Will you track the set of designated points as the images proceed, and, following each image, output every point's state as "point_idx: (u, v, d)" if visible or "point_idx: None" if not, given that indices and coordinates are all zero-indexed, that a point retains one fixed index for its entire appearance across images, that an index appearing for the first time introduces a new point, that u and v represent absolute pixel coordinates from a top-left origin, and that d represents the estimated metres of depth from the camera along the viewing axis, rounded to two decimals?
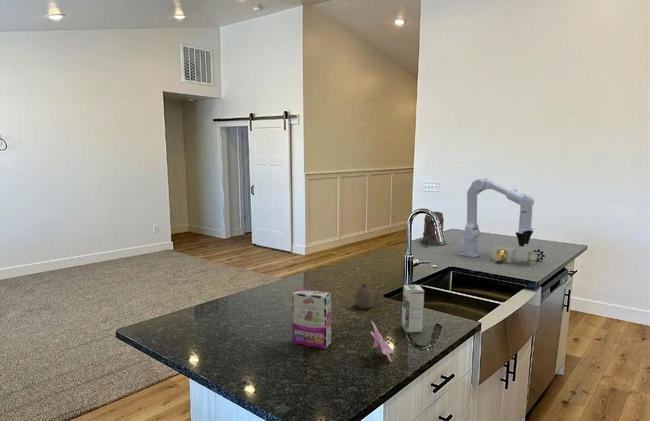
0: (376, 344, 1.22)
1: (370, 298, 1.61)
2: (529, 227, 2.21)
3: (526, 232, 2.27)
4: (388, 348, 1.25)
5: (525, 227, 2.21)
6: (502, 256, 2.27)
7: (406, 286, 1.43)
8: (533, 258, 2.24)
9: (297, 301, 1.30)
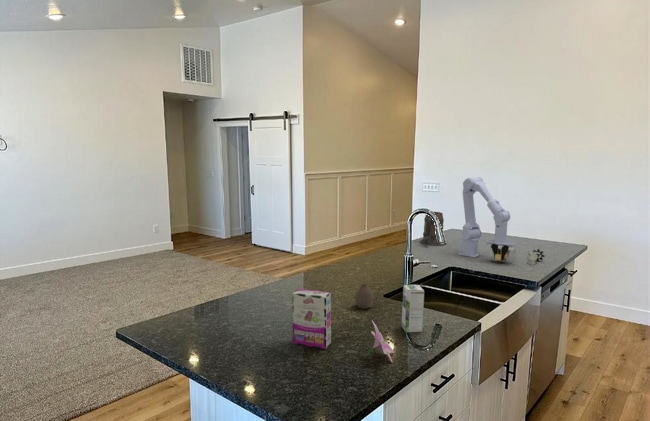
0: (377, 344, 1.22)
1: (370, 298, 1.61)
2: (496, 241, 2.25)
3: None
4: (389, 348, 1.26)
5: (494, 240, 2.27)
6: None
7: (406, 286, 1.43)
8: (533, 258, 2.24)
9: (297, 301, 1.30)
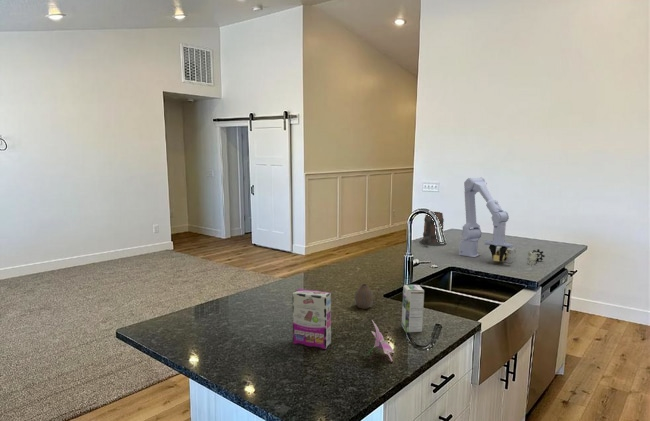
0: (377, 344, 1.22)
1: (370, 298, 1.61)
2: (494, 241, 2.23)
3: None
4: (389, 348, 1.26)
5: (492, 241, 2.25)
6: None
7: (406, 286, 1.43)
8: (533, 258, 2.24)
9: (297, 301, 1.30)
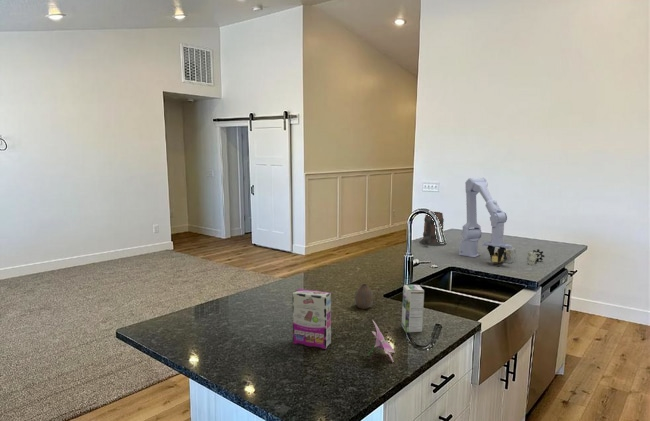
0: (378, 344, 1.22)
1: (370, 298, 1.61)
2: (492, 242, 2.21)
3: None
4: (390, 347, 1.26)
5: (491, 241, 2.23)
6: None
7: (406, 286, 1.43)
8: (532, 258, 2.23)
9: (297, 301, 1.30)
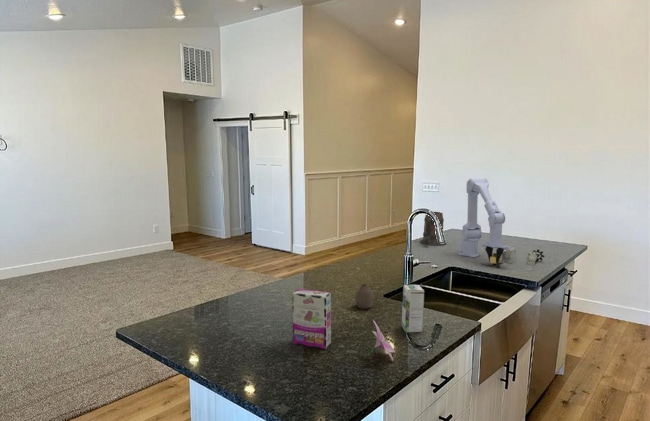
0: (378, 343, 1.22)
1: (370, 298, 1.61)
2: (491, 243, 2.19)
3: None
4: (390, 347, 1.26)
5: (489, 242, 2.21)
6: None
7: (406, 286, 1.43)
8: (532, 258, 2.23)
9: (297, 301, 1.30)
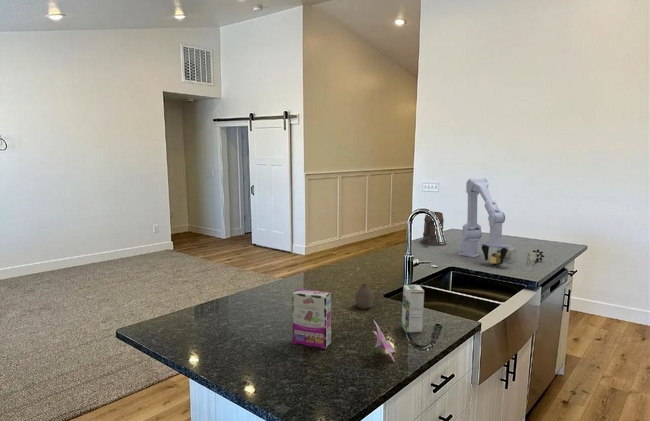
0: (379, 343, 1.22)
1: (370, 298, 1.61)
2: (491, 243, 2.19)
3: None
4: (390, 347, 1.26)
5: (489, 242, 2.21)
6: (497, 259, 2.21)
7: (406, 286, 1.43)
8: (532, 258, 2.23)
9: (297, 301, 1.30)
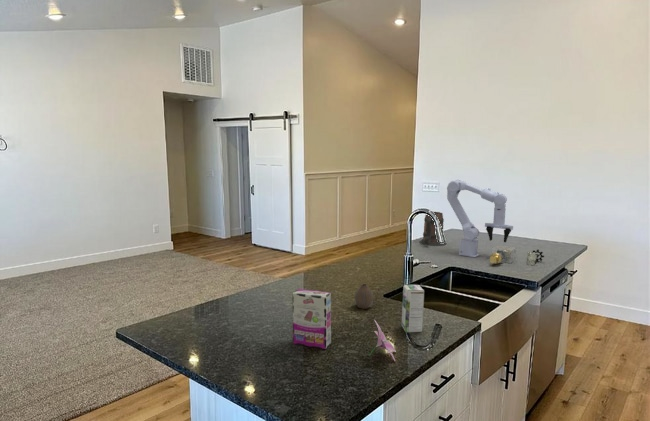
0: (380, 343, 1.23)
1: (370, 298, 1.61)
2: (495, 223, 2.33)
3: None
4: (391, 347, 1.26)
5: (493, 223, 2.35)
6: (497, 259, 2.21)
7: (406, 286, 1.43)
8: (532, 258, 2.23)
9: (297, 301, 1.30)
